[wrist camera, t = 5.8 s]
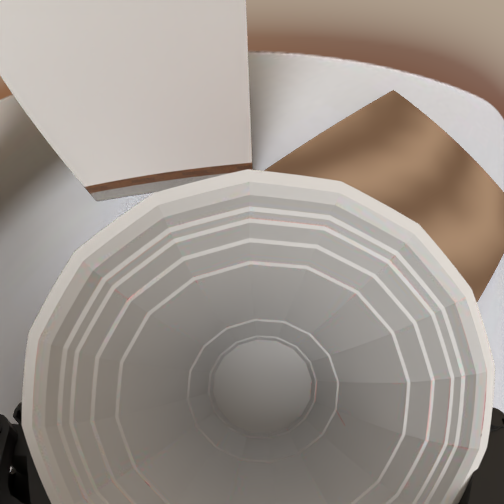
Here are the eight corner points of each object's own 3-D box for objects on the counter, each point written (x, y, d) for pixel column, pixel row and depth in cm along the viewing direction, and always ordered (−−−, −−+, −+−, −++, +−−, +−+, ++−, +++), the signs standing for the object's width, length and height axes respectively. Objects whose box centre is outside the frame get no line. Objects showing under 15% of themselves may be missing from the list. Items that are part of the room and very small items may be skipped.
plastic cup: (368, 455, 14) (499, 540, 2) (182, 477, 13) (82, 594, 2) (346, 280, 17) (455, 152, 6) (164, 301, 17) (33, 197, 6)
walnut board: (260, 181, 20) (260, 173, 19) (390, 97, 23) (393, 90, 22) (427, 362, 15) (436, 361, 14) (514, 219, 19) (521, 214, 18)
